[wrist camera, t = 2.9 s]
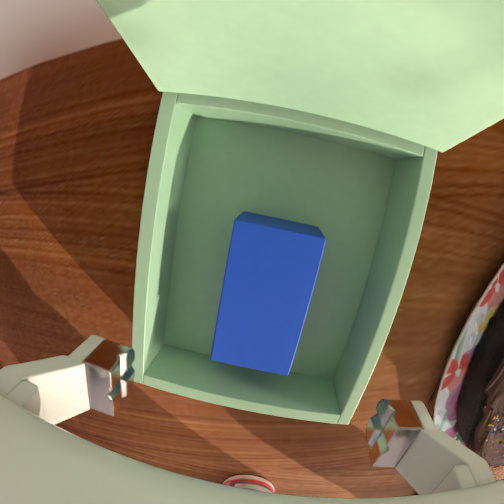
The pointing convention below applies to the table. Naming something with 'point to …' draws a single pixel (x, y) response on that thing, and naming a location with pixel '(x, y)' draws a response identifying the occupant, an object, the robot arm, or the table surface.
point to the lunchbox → (284, 207)
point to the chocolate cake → (476, 379)
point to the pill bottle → (250, 483)
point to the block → (266, 292)
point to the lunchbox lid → (331, 58)
